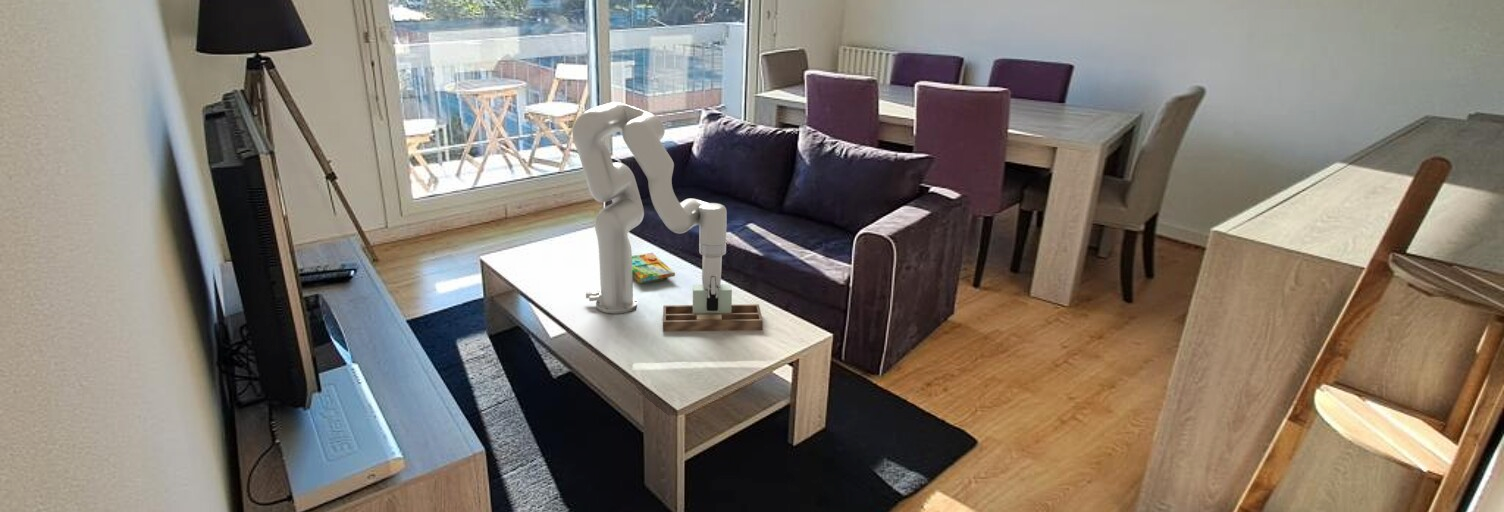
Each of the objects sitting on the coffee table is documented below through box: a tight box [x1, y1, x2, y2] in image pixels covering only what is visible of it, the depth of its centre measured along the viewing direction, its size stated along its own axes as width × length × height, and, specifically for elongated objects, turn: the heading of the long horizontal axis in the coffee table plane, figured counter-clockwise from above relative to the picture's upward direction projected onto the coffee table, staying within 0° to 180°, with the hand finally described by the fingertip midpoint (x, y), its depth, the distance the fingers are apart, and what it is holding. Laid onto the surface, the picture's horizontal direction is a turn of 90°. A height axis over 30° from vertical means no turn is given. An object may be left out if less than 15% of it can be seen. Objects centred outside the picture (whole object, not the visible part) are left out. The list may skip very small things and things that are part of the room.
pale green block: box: [692, 284, 733, 314], centre depth 225 cm, size 11×4×10 cm, turn 95°
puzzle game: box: [632, 252, 676, 284], centre depth 259 cm, size 12×5×20 cm
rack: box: [662, 303, 764, 333], centre depth 225 cm, size 28×11×4 cm, turn 95°
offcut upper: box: [697, 314, 722, 320], centre depth 221 cm, size 7×3×2 cm, turn 95°
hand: (711, 306), depth 225 cm, fingers closed on pale green block, 4 cm apart
